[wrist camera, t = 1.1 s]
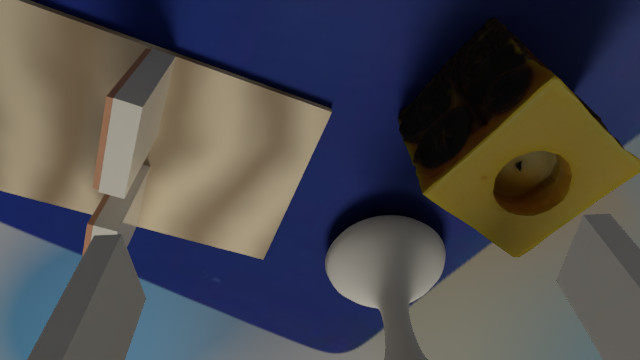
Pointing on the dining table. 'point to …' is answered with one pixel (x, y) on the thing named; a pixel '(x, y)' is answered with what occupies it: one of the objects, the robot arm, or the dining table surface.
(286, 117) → the board
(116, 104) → the tile
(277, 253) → the dining table surface
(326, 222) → the dining table surface
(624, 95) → the dining table surface
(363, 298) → the flower in vase
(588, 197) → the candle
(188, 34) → the dining table surface
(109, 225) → the tile
